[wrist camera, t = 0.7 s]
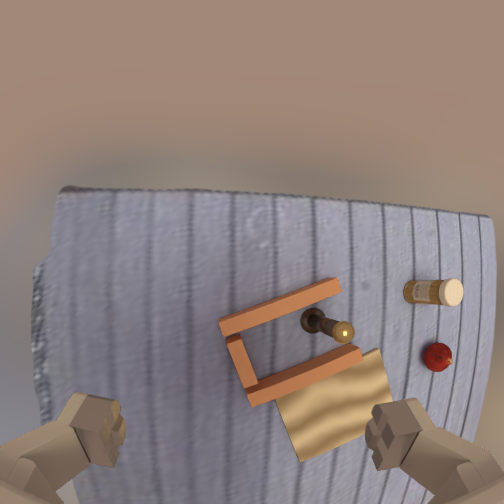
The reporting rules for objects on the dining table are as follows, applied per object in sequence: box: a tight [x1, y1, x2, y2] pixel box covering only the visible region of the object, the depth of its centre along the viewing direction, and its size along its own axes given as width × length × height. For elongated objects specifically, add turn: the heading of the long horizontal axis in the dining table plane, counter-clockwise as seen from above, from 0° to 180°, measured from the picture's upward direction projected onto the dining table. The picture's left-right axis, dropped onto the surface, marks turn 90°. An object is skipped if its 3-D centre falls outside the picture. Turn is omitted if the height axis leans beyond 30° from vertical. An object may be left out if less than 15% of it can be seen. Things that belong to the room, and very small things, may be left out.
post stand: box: [301, 308, 355, 344], centre depth 46 cm, size 4×4×16 cm
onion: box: [424, 343, 452, 372], centre depth 52 cm, size 6×6×8 cm
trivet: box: [275, 348, 393, 462], centre depth 52 cm, size 16×21×1 cm
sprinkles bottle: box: [404, 278, 463, 306], centre depth 50 cm, size 5×5×14 cm
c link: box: [218, 278, 363, 407], centre depth 51 cm, size 20×15×5 cm
